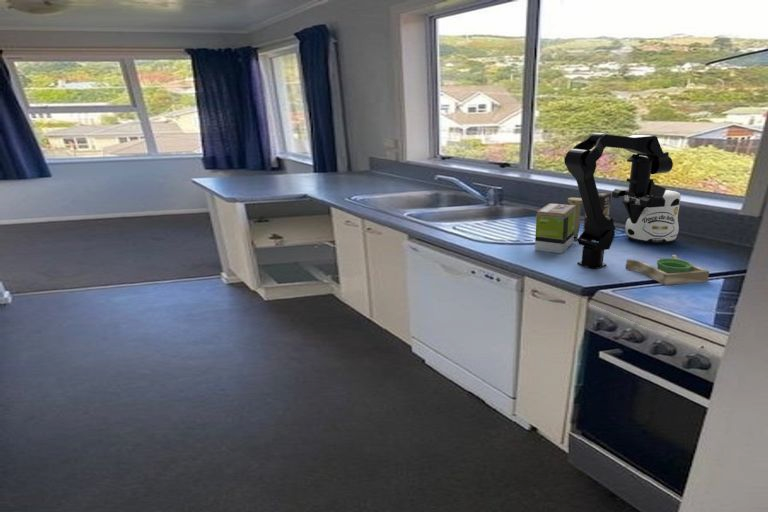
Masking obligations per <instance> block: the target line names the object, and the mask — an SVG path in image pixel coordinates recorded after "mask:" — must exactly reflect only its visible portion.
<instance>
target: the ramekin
mask: <svg viewBox="0 0 768 512" xmlns="http://www.w3.org/2000/svg"><path fill="white" fill-rule="evenodd" d="M656 265H657V267H656V268H657V269H659V270H661V271H663V272H666V273H668V274H669V273H680V272H690V269H691V267H692V265H693V263H691V262H690V261H687V260H684V259H680V258H678V259H673V258H672V257H670V258H669V257H667V258H665V257H664V258H659V259H657V260H656Z"/></svg>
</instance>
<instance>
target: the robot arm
mask: <svg viewBox="0 0 768 512" xmlns="http://www.w3.org/2000/svg"><path fill="white" fill-rule="evenodd" d="M658 138H659V137H658V136H656V135H648V134H632V135H629V136H624V135H616V134H614V135H613V134H608V133H605V132H604V133H603V132H595V133H591V134H590V135H589V136H588V137H587V138H586V139H584V140H583V141H581V142H579V143H577V144H576V145H574V146H573V147H572V148H571V149H569V150H568V151H567V153H566V155H565V156H564V161H563V162H564V165H565V167H566V169H567V171H568V173H570V175H571V176H572V177H573V178H574V179H575V181H576V184H577V187H578V191H579V195H580V198H581V199H582V202H583V204H582V205H583V208H584V214H585V213H586V216H587V220H586V223H585V231H584V232H583V231H582V232H581V234H580V235H579V237H577V243H578V245H581V246H583V247H582V255H581V261H578V262H577V263H576V264H577V265H580V266H582V267H585V268H588V269H591V270H596V269H599V268H603V267H606V266H607V265H608V264H607V263H605V262H604V256H605V255H604V254H605V251H606V250H610V248H611V245H612V243H613V241H614V238H615V236H616V230H617V228H616V227H615V223H614V219H613V217H609V216H608V217H606V216H604V213H603V210H602V206H601V202H600V198H599V194H598V191H599V190H598V187H597V183H596V179H595V177H594V175H595V172H596V169H597V161H598V160H599V159H601V157H602V156H603V154H604V150H605V148H615V149H624V150H626V151H627V152H630V153H632V155H631V156H629V157H628V158H627V159H626V162H628V163H631V166H630V175H629V177H627V178H626V182H627V183H629V184H628V187H621V188H614V190H612V192H611V198H614V199H619V198H620V197H624V200H622V201H621V203H622V204H623V205H624V207H625V209H626V211H627V215H628V217H630V220H631V222H632V223H633V224H636V223H637V221H638V219H639V217H640V215H641V214H642V212H643V210H644V209H645V208H646V207H648V208H651V207H664V206H665V199H664V198H663V195H664V193H665V191H666V190H667V188H666V187H664V186H660V185H658V184H655V180H654V179H653V178H651V176H652V175H660V174H666V173H667V174H668V173H669V172H671V170H672V169H673V166H674V163H673V159H672V157H670V156H669V154H670V153H669V152H668V151H663V149H662V145H661V144H660V142H659V139H658Z"/></svg>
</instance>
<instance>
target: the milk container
mask: <svg viewBox="0 0 768 512" xmlns="http://www.w3.org/2000/svg"><path fill="white" fill-rule="evenodd" d="M663 198H664V199H665V206H664V207H651V208H648V207H646V208H645V209H644V210H643V212H642V214H641V215H640V217H639V219H638V221H637V223H636V224H633V223H632V222H631V220H630V217H629V216H628V217H627V220H626V222H625V234H626V236H627V237H628V238H629V239H631V240H634V241H636V242H640V243H641V242H642V243H645V244H647V243H648V244H666V243H667V244H668V243H670V242H673V241H675V239H676V238H677V236H678V234H679V230H680V227H679V226H680V225H679V219H678V218H679V210H680V203H681V193H680V192H678V191H675V190H668V189H666V191H665V193H664V195H663Z"/></svg>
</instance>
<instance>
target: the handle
mask: <svg viewBox="0 0 768 512" xmlns="http://www.w3.org/2000/svg"><path fill="white" fill-rule="evenodd" d="M567 203H569V205H576V211H575V226H574V237H576V238H579V237H578V236H579V232H580V226H581V207H582V205H583V202H582V199H581V197H568V198H567Z"/></svg>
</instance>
